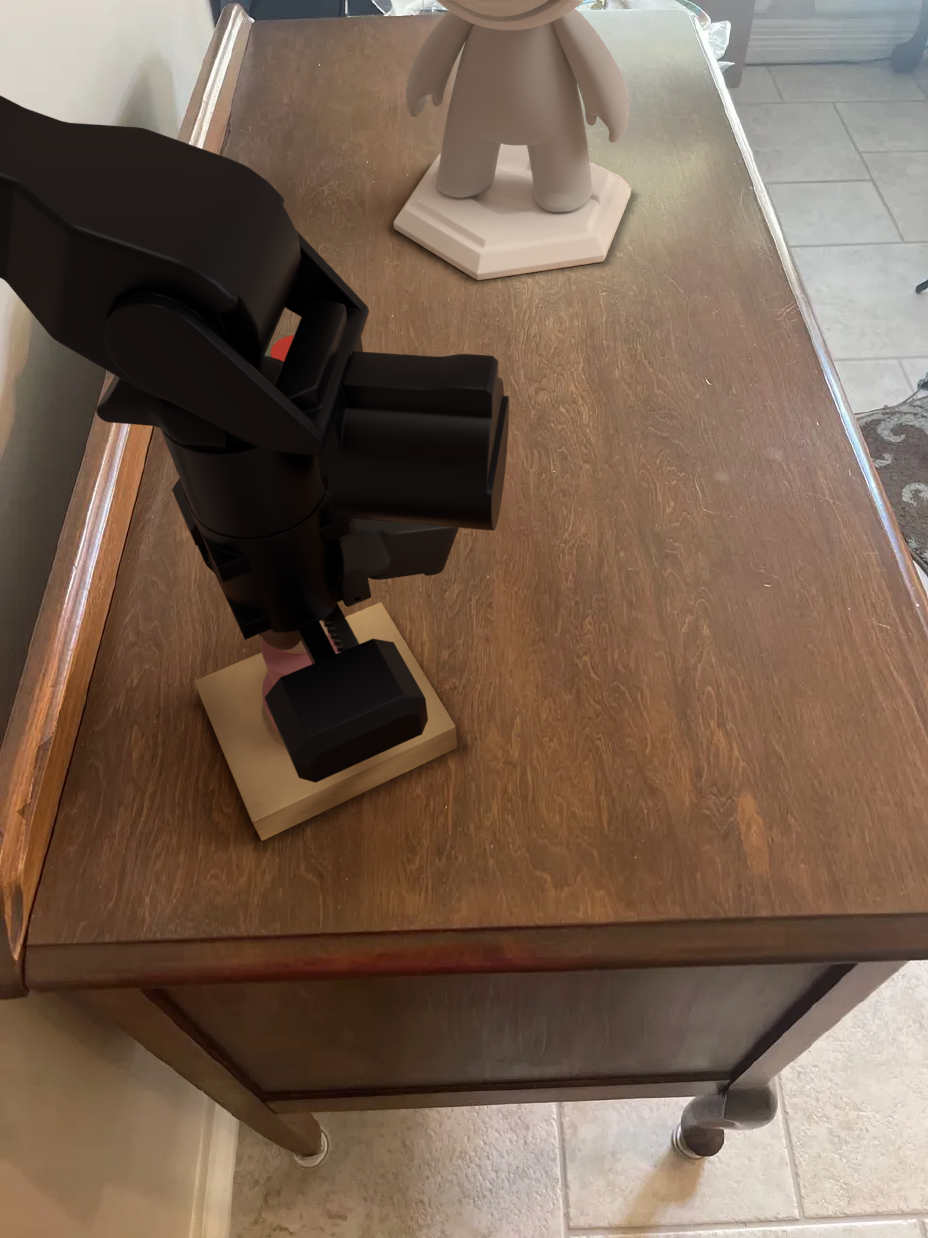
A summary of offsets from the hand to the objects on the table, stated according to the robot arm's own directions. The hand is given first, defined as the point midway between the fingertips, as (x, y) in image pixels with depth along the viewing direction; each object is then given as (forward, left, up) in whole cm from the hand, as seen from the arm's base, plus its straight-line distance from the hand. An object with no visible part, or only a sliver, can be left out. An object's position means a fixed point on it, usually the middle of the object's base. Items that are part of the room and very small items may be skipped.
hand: (317, 687), depth 51 cm
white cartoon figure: (+37, +43, -4) cm, 57 cm away
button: (+9, +27, -1) cm, 29 cm away
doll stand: (0, 0, -4) cm, 4 cm away
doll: (0, 0, -2) cm, 2 cm away
